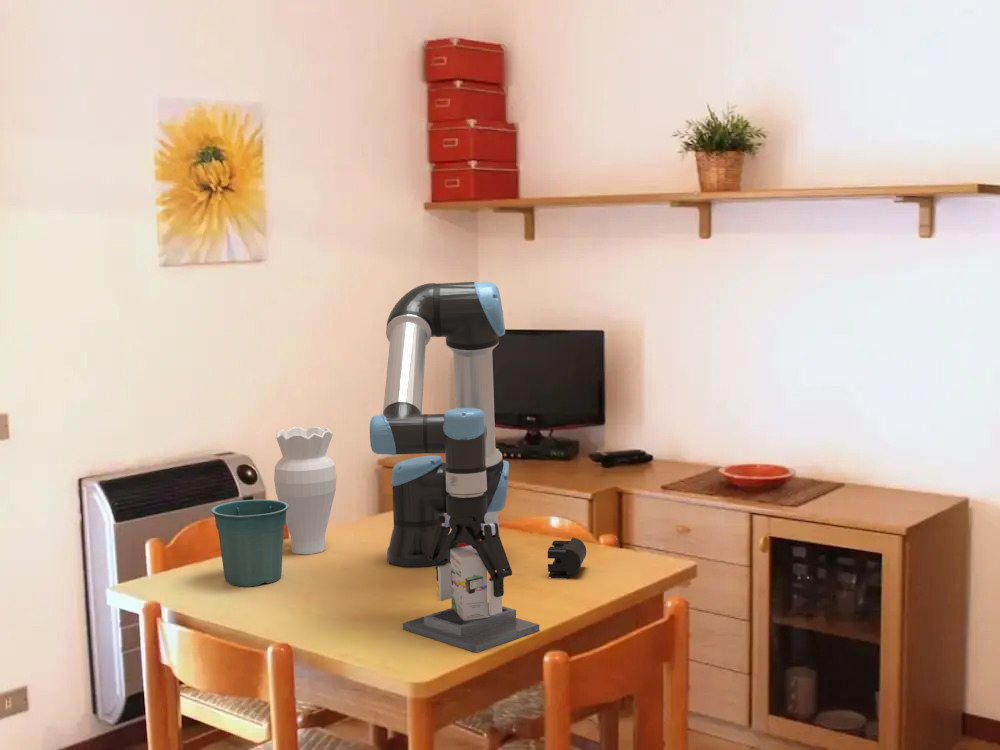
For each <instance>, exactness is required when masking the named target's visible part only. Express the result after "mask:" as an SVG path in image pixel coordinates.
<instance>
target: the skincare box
mask: <svg viewBox="0 0 1000 750" xmlns="http://www.w3.org/2000/svg"><path fill="white" fill-rule="evenodd" d="M499 518H500V517H499V511H498V512H487V513H486V514H485V516H484V520H485V523H486V524H491V523H497V524H498V530H499V531H500V528H499V527H500V525H499V523H500V521H499Z"/></svg>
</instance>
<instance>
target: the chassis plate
mask: <svg viewBox="0 0 1000 750" xmlns="http://www.w3.org/2000/svg"><path fill="white" fill-rule="evenodd" d="M402 630H404V631H408V632H411V633H413V634H417V635H420V636H423V637H427V638H430V639H433V640H435V641H439V642H442V643H444V644H448V645H450V646H454V647H458V648H460V649H464V650H465V651H466V650H467V651H470V652H473V653H480V652H483V651H485V650H488V649H491V648H494V647H497V646H499V645H503V644H506V643H508V642H511V641H513V640H517V639H519V638H523V637H525V636H529V635H531V634H535V633H538V632H540V624H539V623H536V622H532V621H530V620H529V621H528V620H524V619H521V618H517V610H516V608H515V609H514V608H510V607H506V606H503V605H502V612H501V613H498V614H494V615H489V604H488V617H487V618H482V619H474V620H466V621H464V620H463V619H462V618H461V617H460V616H459V615H458V614H457V613H456V612H455V611H454V610H453V609H452V607H451V608H447V609H444V610H440V611H437V612H433V613H432V614H427V615H425V616H422V617H417V618H414V619H412V620H409V621H405V622H402Z"/></svg>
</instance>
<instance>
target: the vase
mask: <svg viewBox="0 0 1000 750" xmlns="http://www.w3.org/2000/svg"><path fill="white" fill-rule="evenodd" d="M275 436H276V438H275V439H276V441H277V444H278V447H279V449H280V452H281V455H282V457H281V458H280V459H279V460H278V461H277V462H276V464H275V466H274V473H273V474H274V477H273V479H274V481H273V482H274V489H275V494H276V497H277V501H282V502H285V503H287V504H288V505H289V507H288V509H287V510H286V523H285V525H286V527H287V530H288V532H289V536H290V541H291V542H290V545H291V546H290V547H291V552H292V553H293V554H296V555H315V554H318V553H319V554H320V553H322V552H325V550H326V532H327V527H328V523H329V520H330V516H331V511H332V507H333V502H334V498H335V495H336V494H335V493H336V491H337V490H336V489H337V472H336V463H335V462H334V460H333V459H332V458H331V457H330V456H329V455H327V451H328V449H329V446H330V443H331V440H332V437H333V432H332V431H331V430H330V428H328V427H325V428H324V429H323V428H321V427H319V426H310V427H309V428H307V429H305V428H303V427H300V426H296V427H295V426H294V427H291V428H290V429H288V430H286V431H285V430H284V429H283V428H282V429H280V431H276V434H275Z"/></svg>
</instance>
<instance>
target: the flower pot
mask: <svg viewBox="0 0 1000 750" xmlns="http://www.w3.org/2000/svg"><path fill="white" fill-rule="evenodd" d="M288 507H289V505H288V504H287V503H285V502H282V501H279V500H278V499H277V500H276V499H246V500H245V499H244V500H236V501H235V500H234V501H229V502H224V503H221V504H218V505H215V506H214V507H212V508H211V513H212V514H213V515H214V520H215V527H216V529H217V531H218V532H217V533H218V538H219V539H218V540H219V547H220V554H221V560H222V567H223V568H222V569H223V575H224V581H225V582H226V583H228V584H229V585H230V586H231V585H232V586H237V587H256V586H257V587H258V586H261V585H262V583H267V584H271V583H274V582H277V581H279V580H280V579H281V578H282V571H283V569H282V568H283V552H284V551H283V550H284V531H285V525H286V510H287V509H288Z"/></svg>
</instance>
